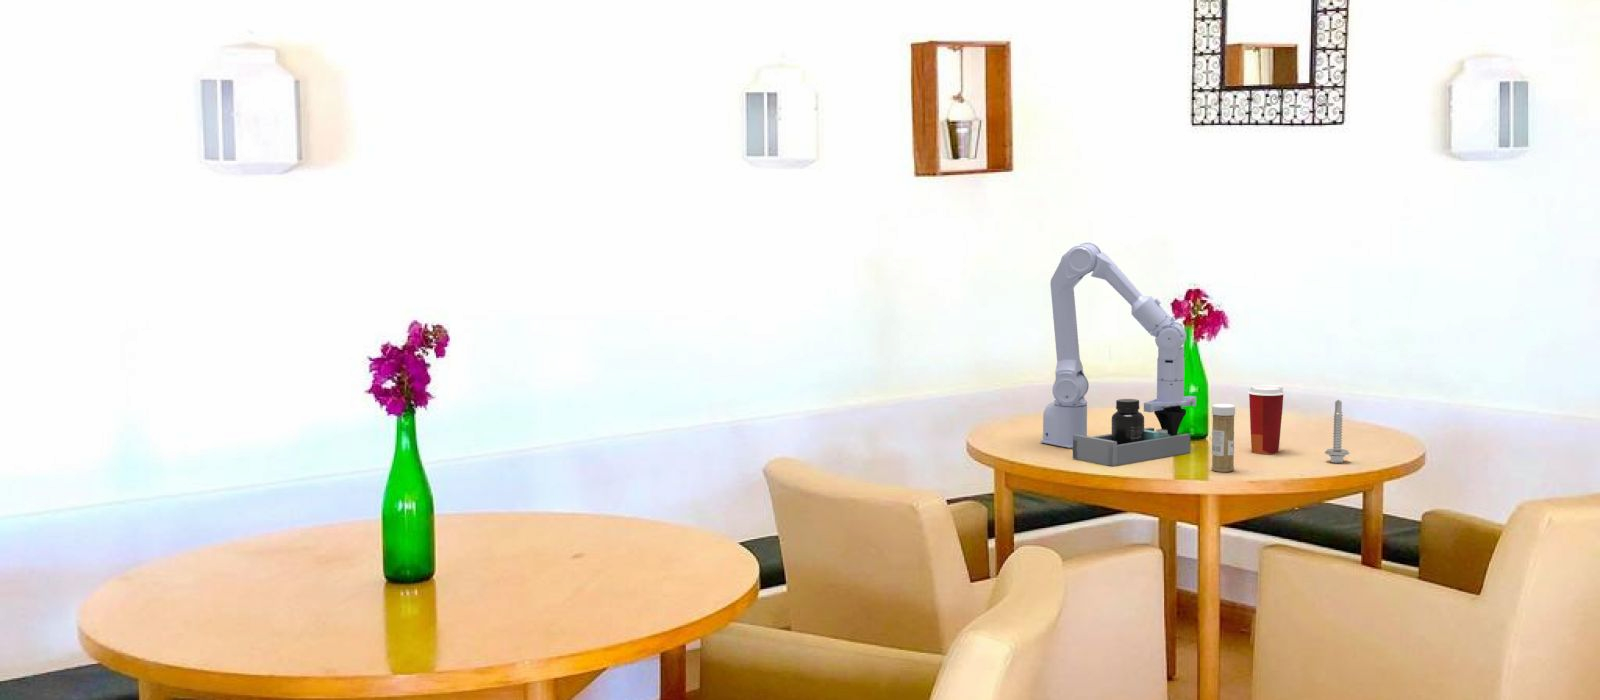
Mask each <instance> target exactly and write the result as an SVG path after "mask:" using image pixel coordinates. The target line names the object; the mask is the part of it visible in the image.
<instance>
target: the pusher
mask: <svg viewBox="0 0 1600 700" xmlns="http://www.w3.org/2000/svg"><path fill="white" fill-rule="evenodd" d="M1168 436H1170V434H1168V430H1167V429H1161V428H1158V429H1156V430H1154V431H1150V430H1144V440H1150V439H1156V438H1162V437H1168Z"/></svg>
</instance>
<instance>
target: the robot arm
mask: <svg viewBox="0 0 1600 700" xmlns="http://www.w3.org/2000/svg"><path fill="white" fill-rule="evenodd" d="M1090 273H1091V275H1090V276H1091V277H1092V278H1096V279H1101V280H1104V281H1105V282H1107V283H1108V284H1109V285H1110V286H1111V287H1112V288H1113V289H1114V290H1115V291H1116V292H1117V293H1118V294H1119V295H1120V296H1121V297H1122V298H1123V299H1124V300H1125V301H1126V302H1127V303H1128V304H1129V305H1130V307H1131V316H1132V317H1133V318H1134V319H1135V320H1136V321H1137V322H1138V323H1139V324H1140V325H1141V327H1143V328H1144V330H1145V331H1147V333H1148V334H1149V335H1150V336H1152V337H1154V338H1155V339H1154V341H1155V345H1156V346H1157V348H1158V350H1157V356H1158V357H1157V359H1156V360H1157V361H1156V362H1157V366H1156V367H1157V369H1156V399H1152V400H1149V401H1146V402H1143V412H1146V413H1154V415H1155V416H1156V418H1157V420H1158V422H1159V424H1160V429H1167V430H1168V434H1170V436H1175V435H1178V432H1179V428H1180V425H1181V424H1182V421H1183V419H1184V417H1185V416H1186V414H1187V409H1185V408H1183V407H1190V406H1192V407H1196V406H1197V396H1193V395H1187V396H1185V361H1186V360H1185V357H1184V355H1185V349H1184V347H1185V346H1183V345H1184V344H1185V342H1186V340H1187V332H1186V330H1185V328H1184V327H1183V324H1182V323H1180V322H1177V321H1176V318H1175V317H1174V316H1170V314H1168V312H1167V311H1166V310H1165V309H1164V308H1163V307H1162V306H1161V305H1160V304H1162V303H1161V302H1162V301H1160V300H1159V299H1158V298H1155V299H1154V297H1152V296H1150V295H1143V294H1142V293H1141V292H1140V291H1139V289H1137V287H1136V286H1135V285H1134V283H1132V282H1131V281H1130V279H1129V278H1128V277H1127V276H1126V275H1125V273H1124V272H1123V271H1122V270H1121V269H1120V268H1119V267H1118V265H1117V264H1116V263H1115V262H1114V261H1113V260H1112V259H1111V258H1110V257H1109V255H1107V254H1106V253H1105V252H1104V251H1101V249H1100V248H1099V246H1097V245H1096V244H1095V243H1092V242H1084V243H1080V244H1079V245H1075V246H1073V247H1071V248H1070V249H1069V250H1067V252H1065V253H1064V254H1063V255H1062V256H1061V259H1060V262H1059V263H1058V266H1057V267H1056V269H1055V271H1054V272H1053V274H1052V277H1051V278H1050V294H1051V295H1050V296H1051V305H1052V306H1051V307H1052V319H1053V329H1054V340H1055V341H1054V342H1055V352H1056V367H1055V372H1054V374H1055V381H1054V383H1053V385H1052V389H1051V390H1052V396H1053V397H1054V399H1055V400H1054V401H1052V402H1050V403H1048V404H1047V405H1046V407H1044V410H1043V416H1042V439H1040V441H1039V442H1040V443H1042V444H1046V445H1047V444H1048V445H1053V446H1056V447H1063V448H1069V449H1073V435H1083V436H1087V435H1088V402H1087V400H1086V399H1085V396H1086V395H1087V392H1088V391H1089V380H1088V379H1087V376H1085V373H1084V366H1083V363H1082V361H1081V357H1080V347H1079V346H1080V345H1079V335H1078V333H1079V332H1078V323H1077V322H1078V321H1077V320H1078V319H1077V311H1076V300H1075V298H1076V297H1075V289H1074V288H1075V287H1076V286H1077V284H1079V283H1080V281H1082V279H1083V278H1084V277H1085V276H1087V275H1088V274H1090Z"/></svg>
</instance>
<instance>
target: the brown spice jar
mask: <svg viewBox="0 0 1600 700" xmlns="http://www.w3.org/2000/svg"><path fill="white" fill-rule="evenodd" d="M1235 415H1236V406H1235V405H1234V404H1232V403H1231V404H1230V403H1215V404H1212V406H1211V416H1212V431H1211V433H1212V434H1211V435H1212V436H1211V454H1212V457H1211V458H1212V459H1211V460H1212V461H1211V471H1214V472H1218V473H1230V472H1233V471H1235V467H1234V465H1235V464H1234V463H1235V462H1234V460H1235V459H1234V456H1235Z"/></svg>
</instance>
